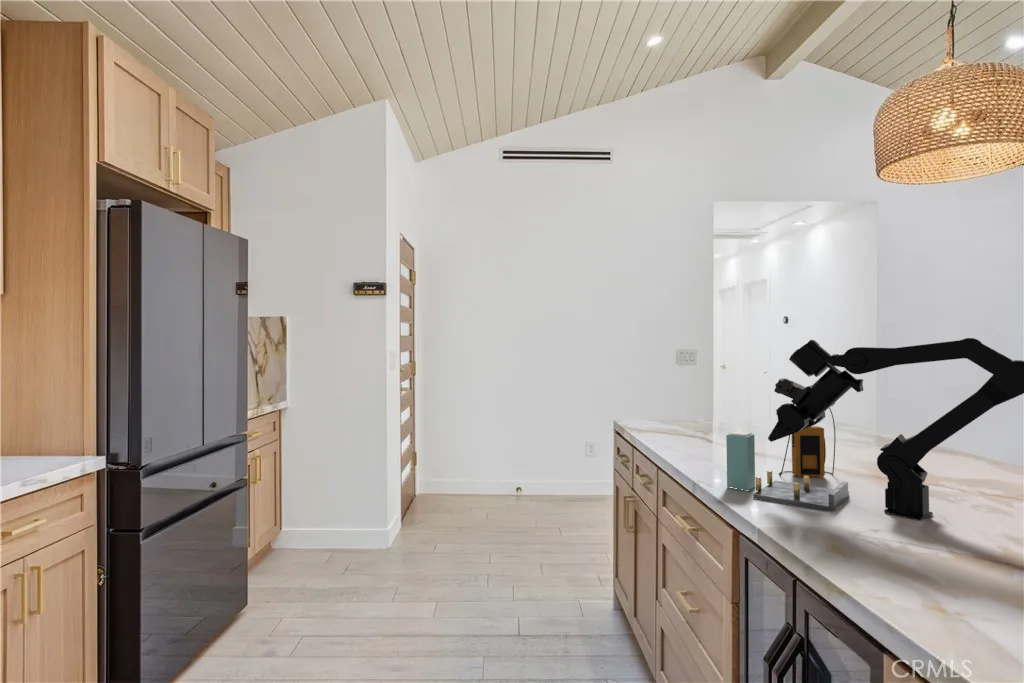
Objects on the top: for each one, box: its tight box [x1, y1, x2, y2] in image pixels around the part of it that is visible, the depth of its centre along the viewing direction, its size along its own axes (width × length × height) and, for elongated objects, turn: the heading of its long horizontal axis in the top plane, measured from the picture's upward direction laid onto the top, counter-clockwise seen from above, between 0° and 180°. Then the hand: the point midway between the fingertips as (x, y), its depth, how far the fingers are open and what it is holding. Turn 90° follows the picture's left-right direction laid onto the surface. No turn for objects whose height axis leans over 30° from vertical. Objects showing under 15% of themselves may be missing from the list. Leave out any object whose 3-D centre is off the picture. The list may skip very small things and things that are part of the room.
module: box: [725, 430, 756, 491], centre depth 135 cm, size 5×5×13 cm
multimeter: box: [778, 407, 836, 478], centre depth 150 cm, size 15×10×20 cm
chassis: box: [753, 470, 850, 513], centre depth 127 cm, size 17×16×4 cm
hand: (775, 437), depth 130 cm, fingers open, 9 cm apart
